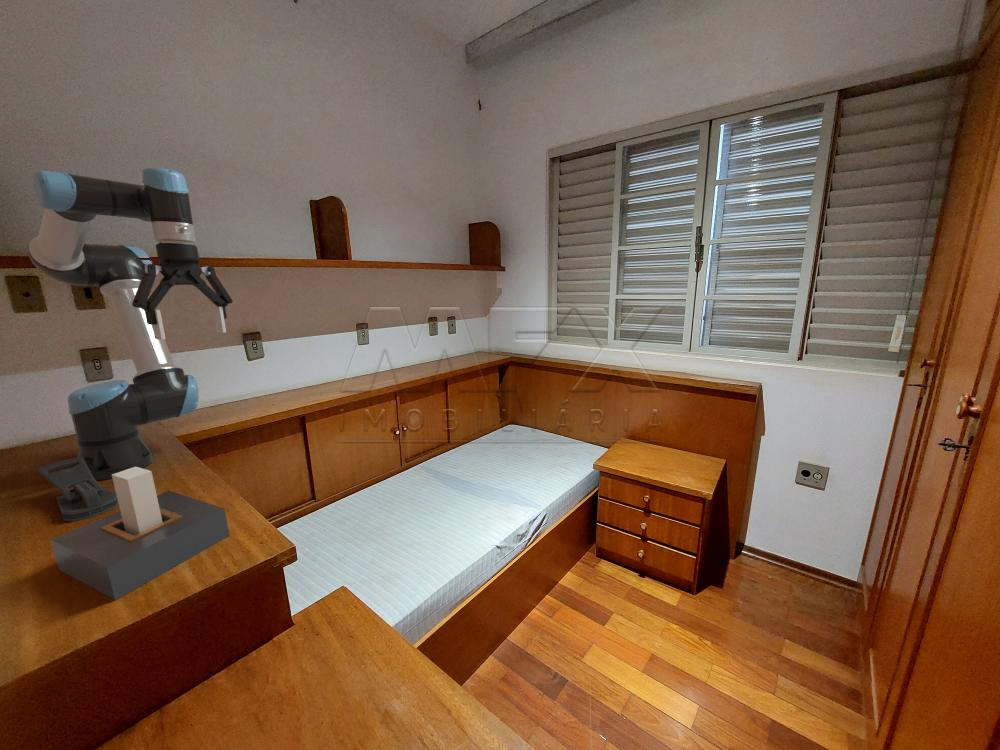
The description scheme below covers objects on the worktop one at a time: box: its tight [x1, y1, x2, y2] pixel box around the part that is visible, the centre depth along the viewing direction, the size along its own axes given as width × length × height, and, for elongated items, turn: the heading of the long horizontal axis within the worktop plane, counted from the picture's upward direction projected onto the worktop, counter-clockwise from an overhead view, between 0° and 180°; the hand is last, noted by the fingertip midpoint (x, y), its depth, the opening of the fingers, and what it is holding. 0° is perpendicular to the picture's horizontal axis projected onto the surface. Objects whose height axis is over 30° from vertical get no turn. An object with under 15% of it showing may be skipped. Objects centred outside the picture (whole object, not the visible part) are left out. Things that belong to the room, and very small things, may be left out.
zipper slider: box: [36, 457, 119, 523], centre depth 92 cm, size 9×7×25 cm
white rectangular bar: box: [111, 467, 163, 536], centre depth 73 cm, size 5×4×16 cm
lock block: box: [50, 490, 230, 601], centre depth 74 cm, size 18×18×6 cm
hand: (192, 335), depth 96 cm, fingers open, 13 cm apart
